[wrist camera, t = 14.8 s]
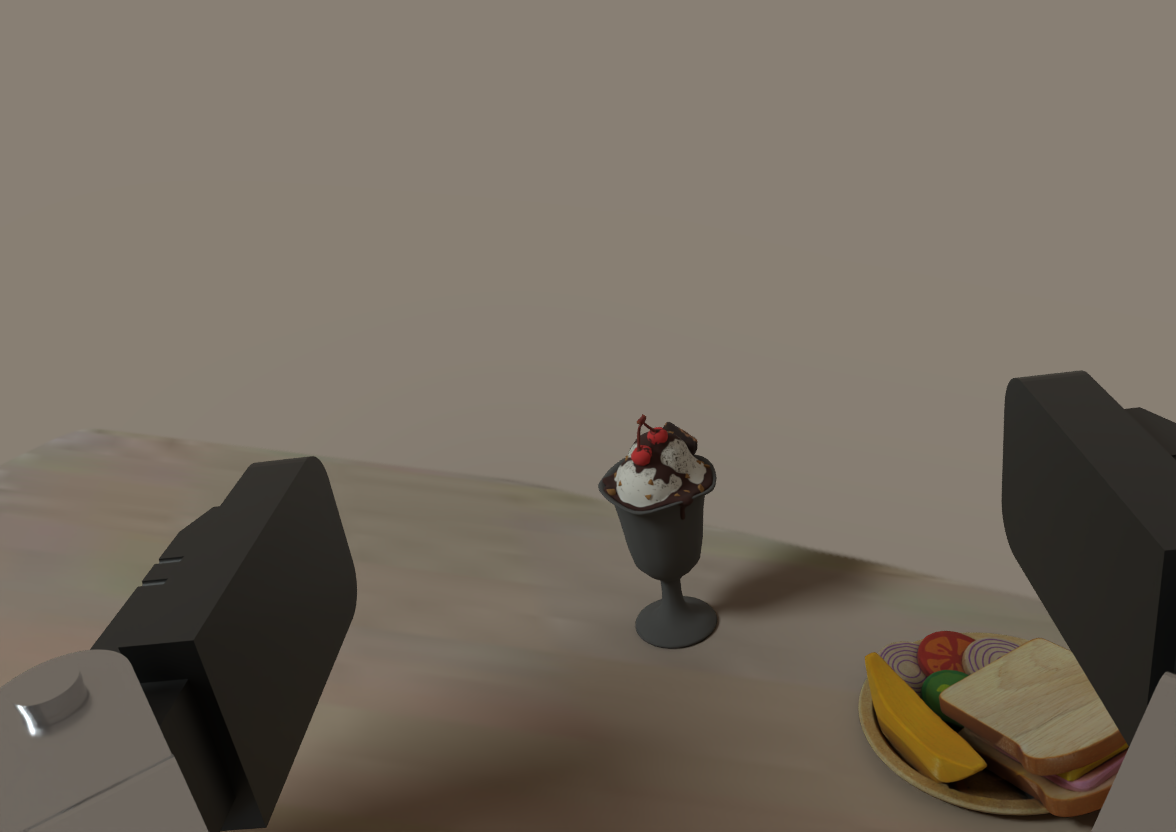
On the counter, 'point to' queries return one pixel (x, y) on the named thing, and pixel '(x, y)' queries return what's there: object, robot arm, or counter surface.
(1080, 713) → the toy sandwich meal
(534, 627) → the counter surface
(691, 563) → the sundae
